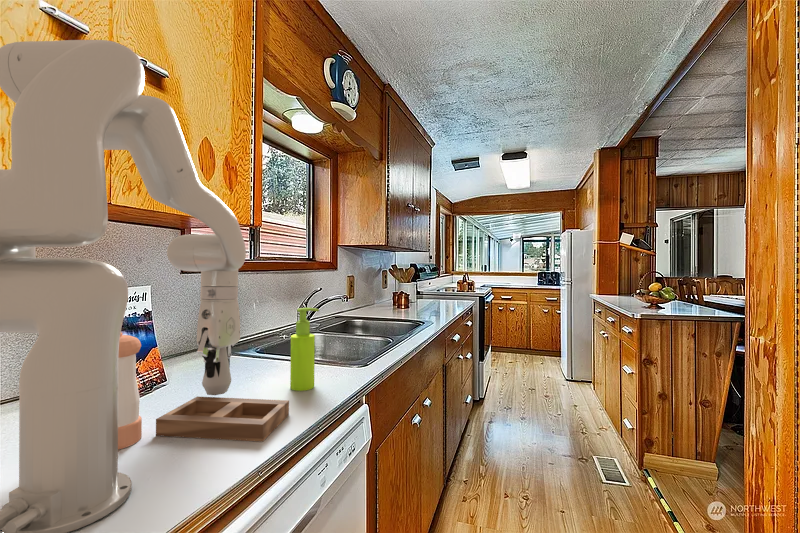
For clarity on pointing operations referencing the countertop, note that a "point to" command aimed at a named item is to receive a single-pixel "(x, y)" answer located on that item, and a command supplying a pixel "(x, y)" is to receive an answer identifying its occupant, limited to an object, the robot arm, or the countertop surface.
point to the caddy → (224, 419)
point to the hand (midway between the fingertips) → (217, 377)
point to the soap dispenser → (302, 354)
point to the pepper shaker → (128, 393)
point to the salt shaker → (224, 380)
